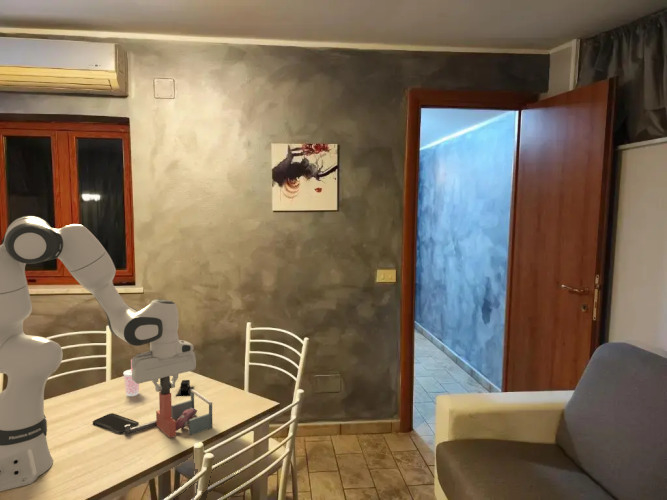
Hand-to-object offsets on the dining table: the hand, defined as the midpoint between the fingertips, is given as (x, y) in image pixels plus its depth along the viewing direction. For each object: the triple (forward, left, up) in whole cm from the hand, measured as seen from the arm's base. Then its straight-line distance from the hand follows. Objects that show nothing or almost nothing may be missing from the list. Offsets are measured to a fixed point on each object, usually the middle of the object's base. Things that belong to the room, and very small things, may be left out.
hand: (165, 389), depth 151 cm
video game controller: (+6, 0, -15) cm, 16 cm away
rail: (-4, +7, -15) cm, 17 cm away
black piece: (+19, +27, -16) cm, 37 cm away
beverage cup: (+2, +38, -15) cm, 41 cm away
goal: (+9, 0, -15) cm, 17 cm away
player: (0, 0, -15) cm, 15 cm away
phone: (-11, +16, -15) cm, 25 cm away
